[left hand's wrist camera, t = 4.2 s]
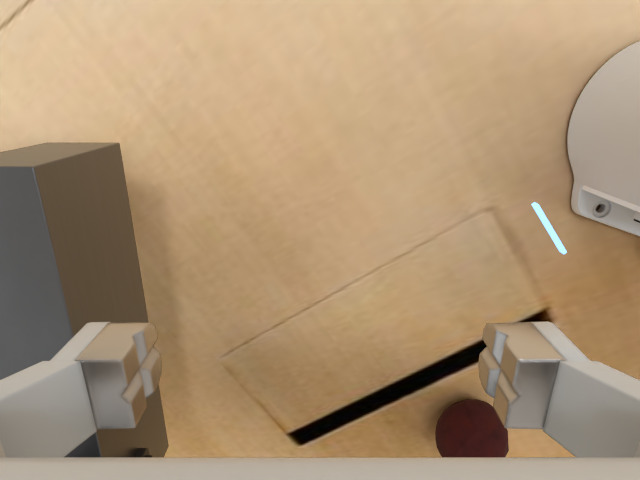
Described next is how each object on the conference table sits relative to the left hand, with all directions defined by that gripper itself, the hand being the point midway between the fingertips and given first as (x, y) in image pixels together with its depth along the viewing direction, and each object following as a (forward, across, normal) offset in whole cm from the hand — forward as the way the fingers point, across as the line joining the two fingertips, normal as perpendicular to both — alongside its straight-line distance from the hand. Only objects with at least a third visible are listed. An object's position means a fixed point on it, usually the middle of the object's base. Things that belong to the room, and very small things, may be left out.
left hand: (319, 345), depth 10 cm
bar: (+21, -17, -12) cm, 29 cm away
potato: (+29, +16, -29) cm, 44 cm away
